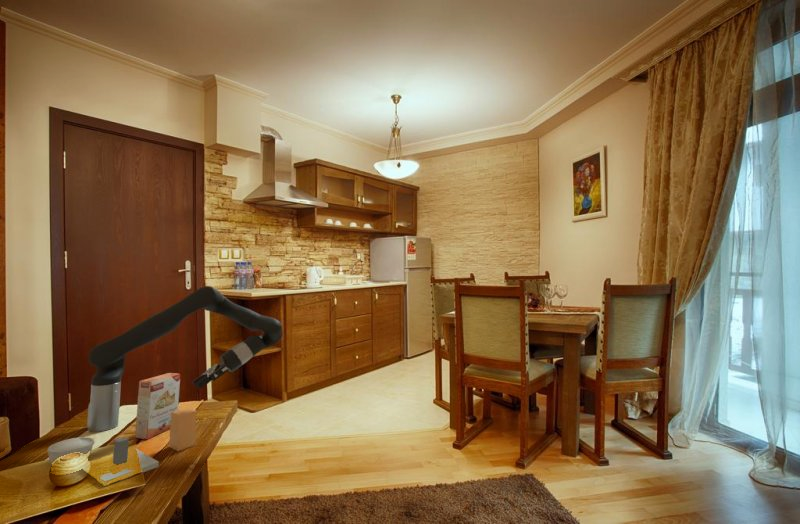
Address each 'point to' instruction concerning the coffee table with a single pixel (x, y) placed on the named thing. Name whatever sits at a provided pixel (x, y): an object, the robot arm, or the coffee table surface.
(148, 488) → the coffee table surface
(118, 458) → the post stand
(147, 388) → the cracker box
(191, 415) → the tan upright sponge
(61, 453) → the ramekin
